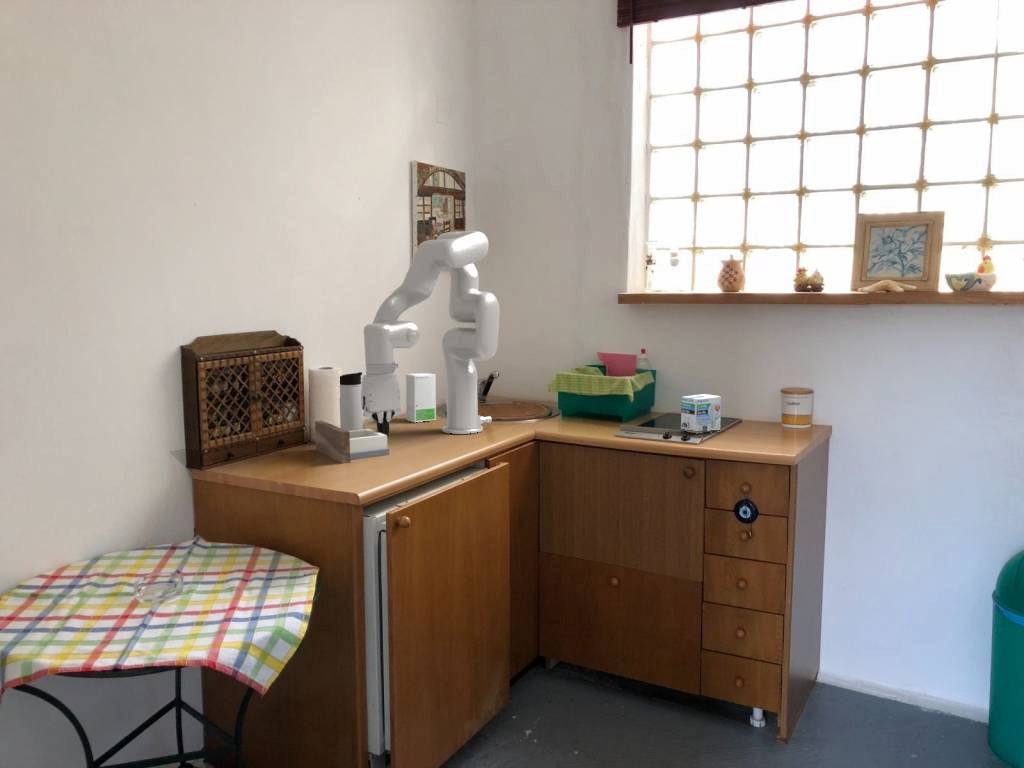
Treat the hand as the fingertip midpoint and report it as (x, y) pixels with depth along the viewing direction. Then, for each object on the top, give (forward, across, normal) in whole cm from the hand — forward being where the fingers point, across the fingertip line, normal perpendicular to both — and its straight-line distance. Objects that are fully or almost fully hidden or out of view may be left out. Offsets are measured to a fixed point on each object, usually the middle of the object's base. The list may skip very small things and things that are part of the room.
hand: (383, 436), depth 216 cm
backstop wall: (+3, +15, 0) cm, 15 cm away
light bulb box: (+7, -90, +31) cm, 95 cm away
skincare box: (+5, -30, -36) cm, 47 cm away
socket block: (+3, +8, 0) cm, 8 cm away
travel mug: (+4, +2, -16) cm, 17 cm away
